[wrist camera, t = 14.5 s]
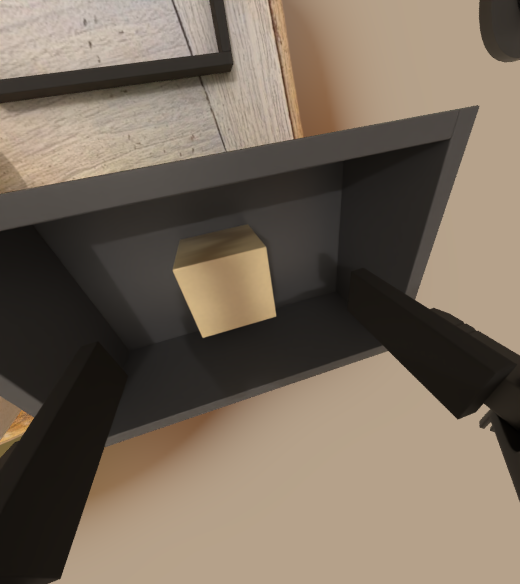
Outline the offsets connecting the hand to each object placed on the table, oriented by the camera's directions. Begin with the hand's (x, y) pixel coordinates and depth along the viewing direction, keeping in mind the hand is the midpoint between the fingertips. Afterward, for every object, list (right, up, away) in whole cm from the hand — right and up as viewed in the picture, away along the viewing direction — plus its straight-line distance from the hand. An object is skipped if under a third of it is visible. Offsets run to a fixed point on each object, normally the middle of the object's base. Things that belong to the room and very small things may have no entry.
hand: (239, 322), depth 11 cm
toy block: (-2, +4, +7) cm, 8 cm away
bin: (-2, +5, +8) cm, 9 cm away
